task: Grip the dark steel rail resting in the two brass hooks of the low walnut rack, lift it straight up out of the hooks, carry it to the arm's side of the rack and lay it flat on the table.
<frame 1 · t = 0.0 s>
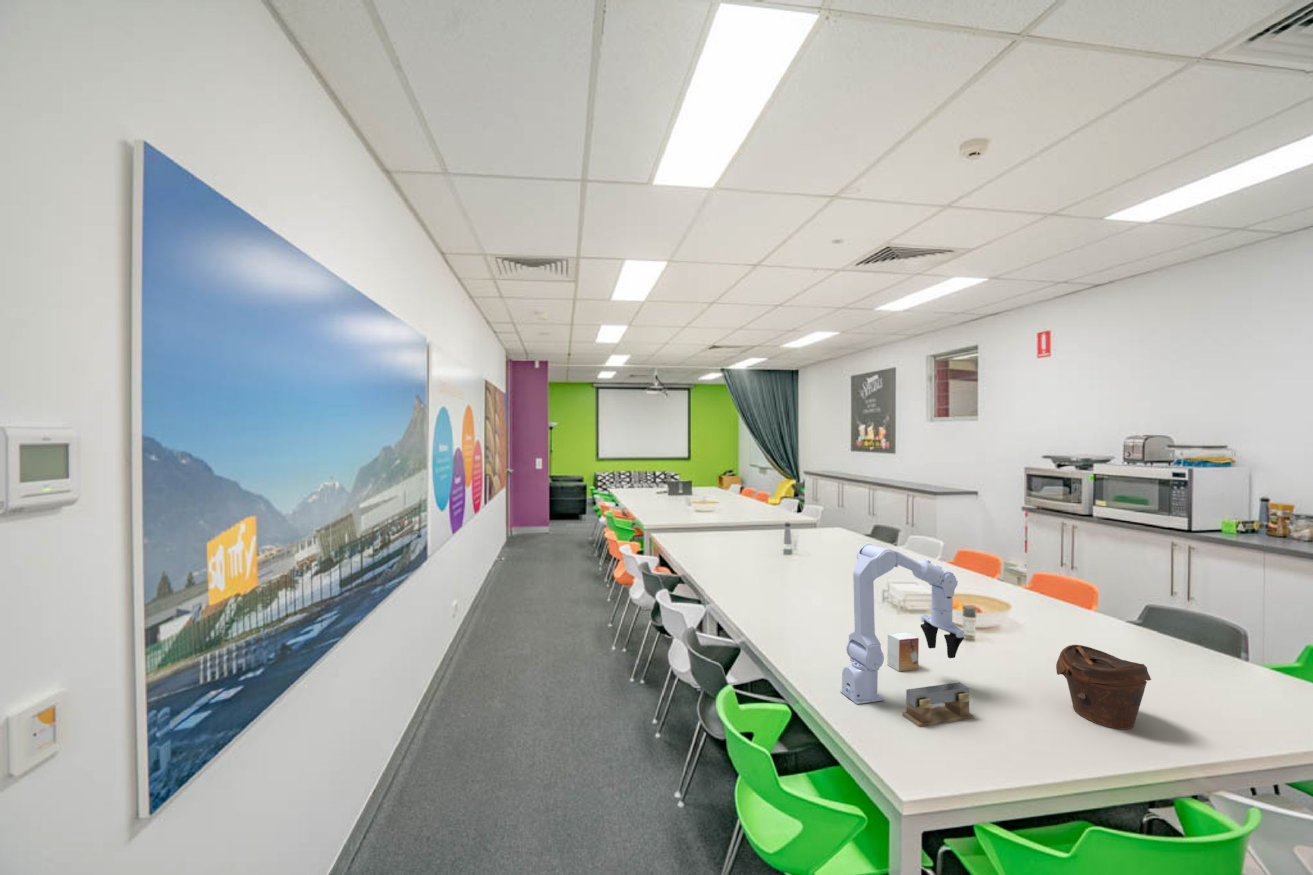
hand: (941, 652, 161), 10 cm above the table, tool pointing down, fingers open, 7 cm apart
rail: (937, 700, 142), point 4 cm above the table, touching rack
small box: (902, 667, 174), on the table
case: (1101, 716, 144), on the table
rack: (937, 716, 142), on the table
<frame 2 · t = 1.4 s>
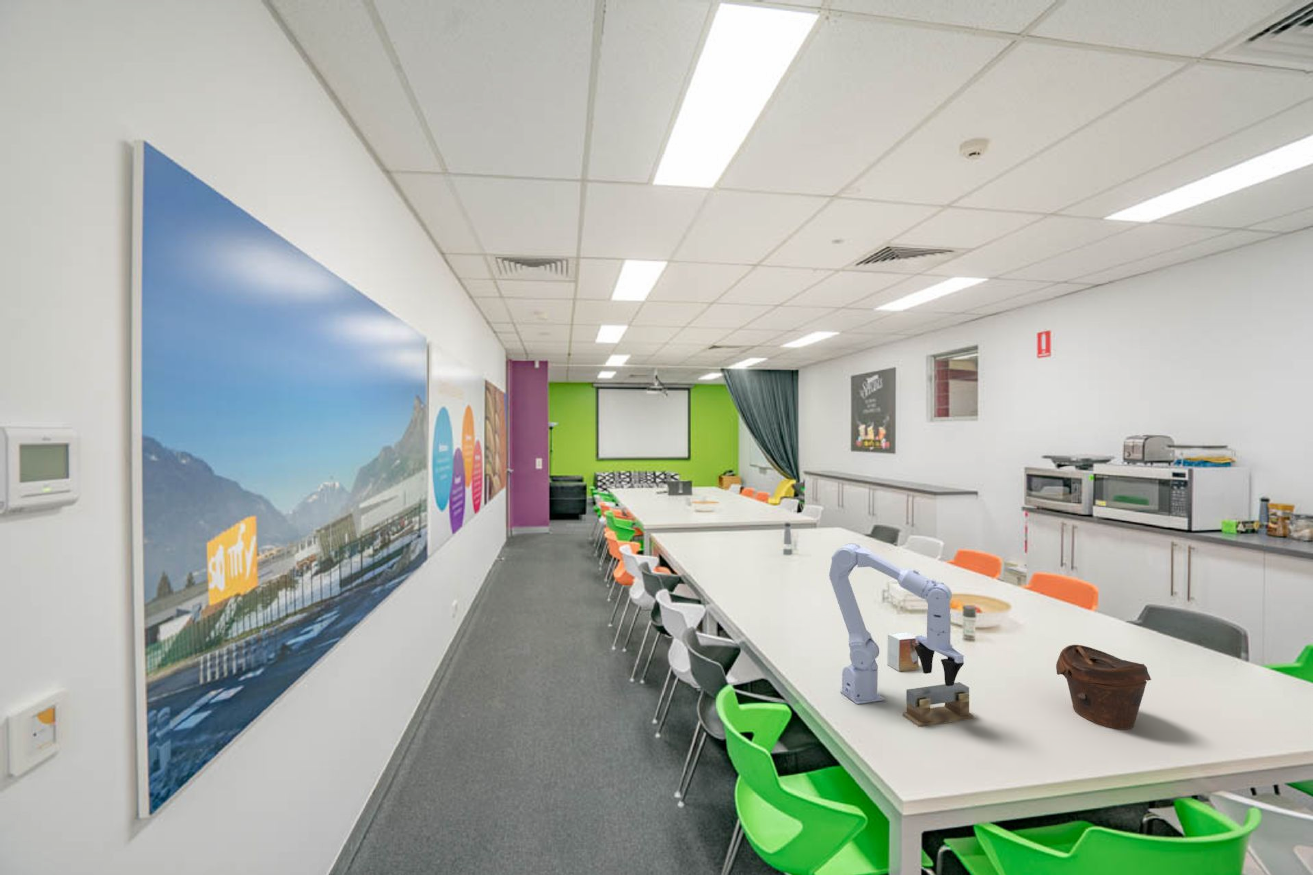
hand: (938, 678, 142), 10 cm above the table, tool pointing down, fingers open, 7 cm apart
nothing on the table moved.
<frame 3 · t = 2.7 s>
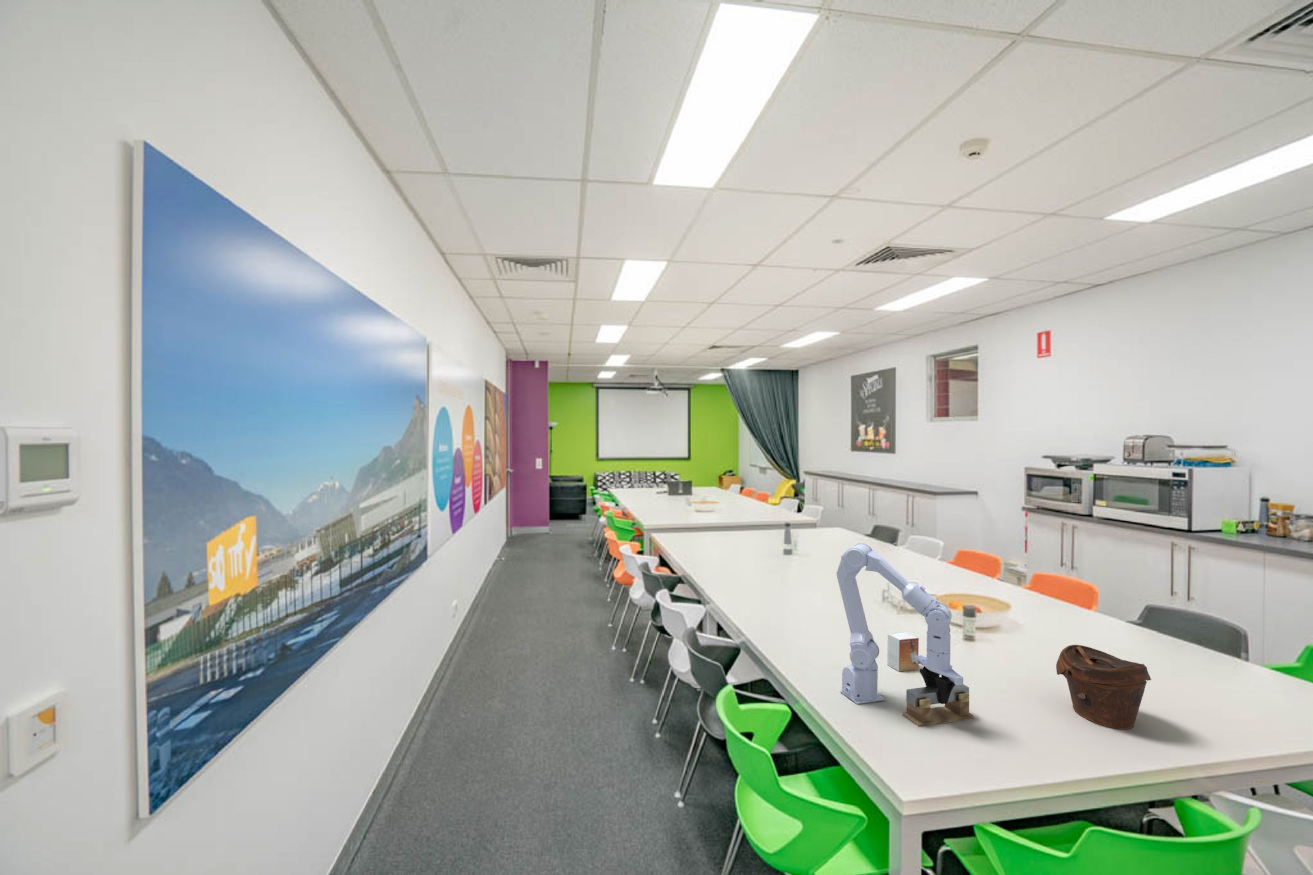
hand: (937, 699, 142), 5 cm above the table, tool pointing down, fingers closed on rail, 3 cm apart
rail: (937, 700, 142), point 4 cm above the table, touching gripper, rack
everything else where it was.
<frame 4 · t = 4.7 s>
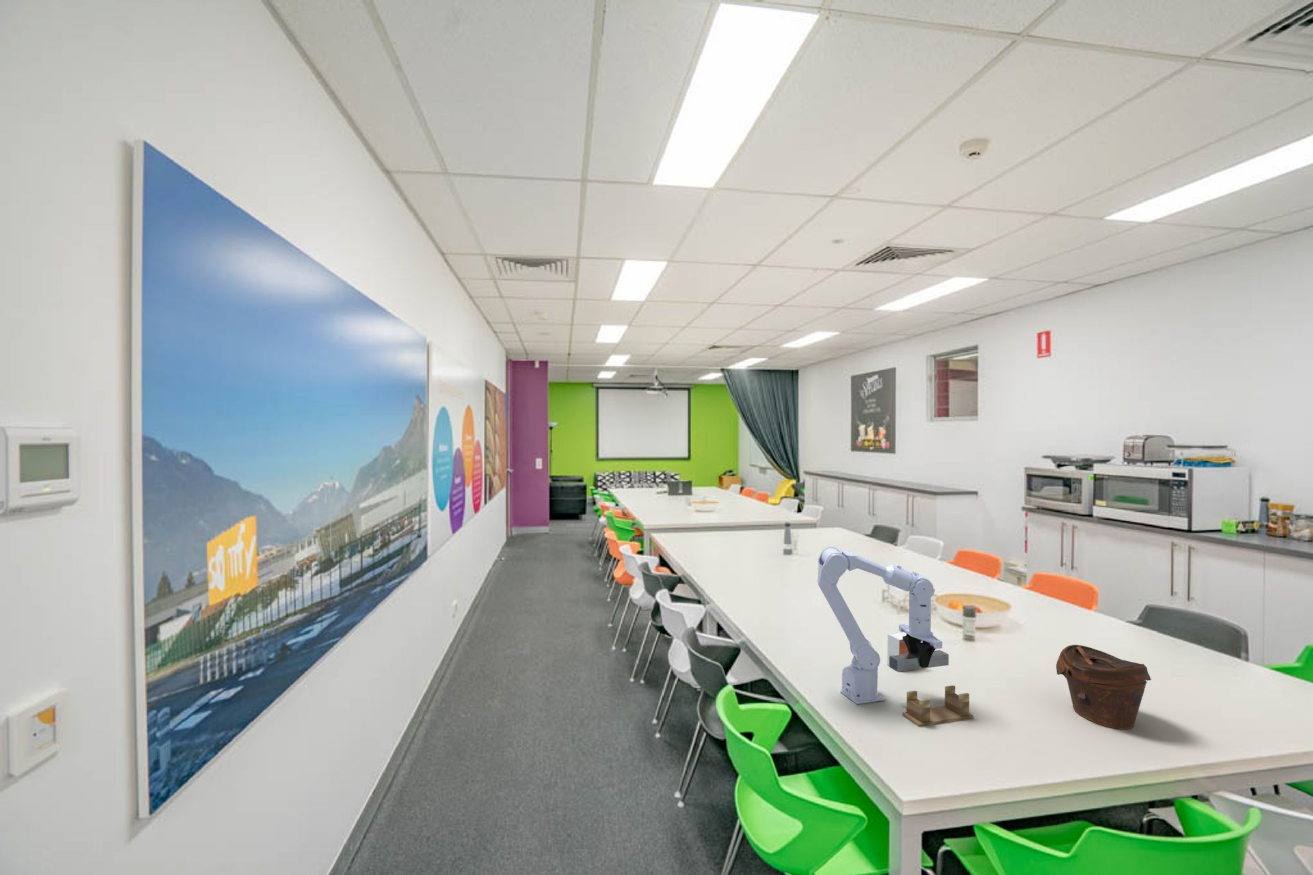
hand: (919, 664, 151), 10 cm above the table, tool pointing down, fingers closed on rail, 3 cm apart
rail: (919, 666, 151), point 10 cm above the table, touching gripper
everything else where it was.
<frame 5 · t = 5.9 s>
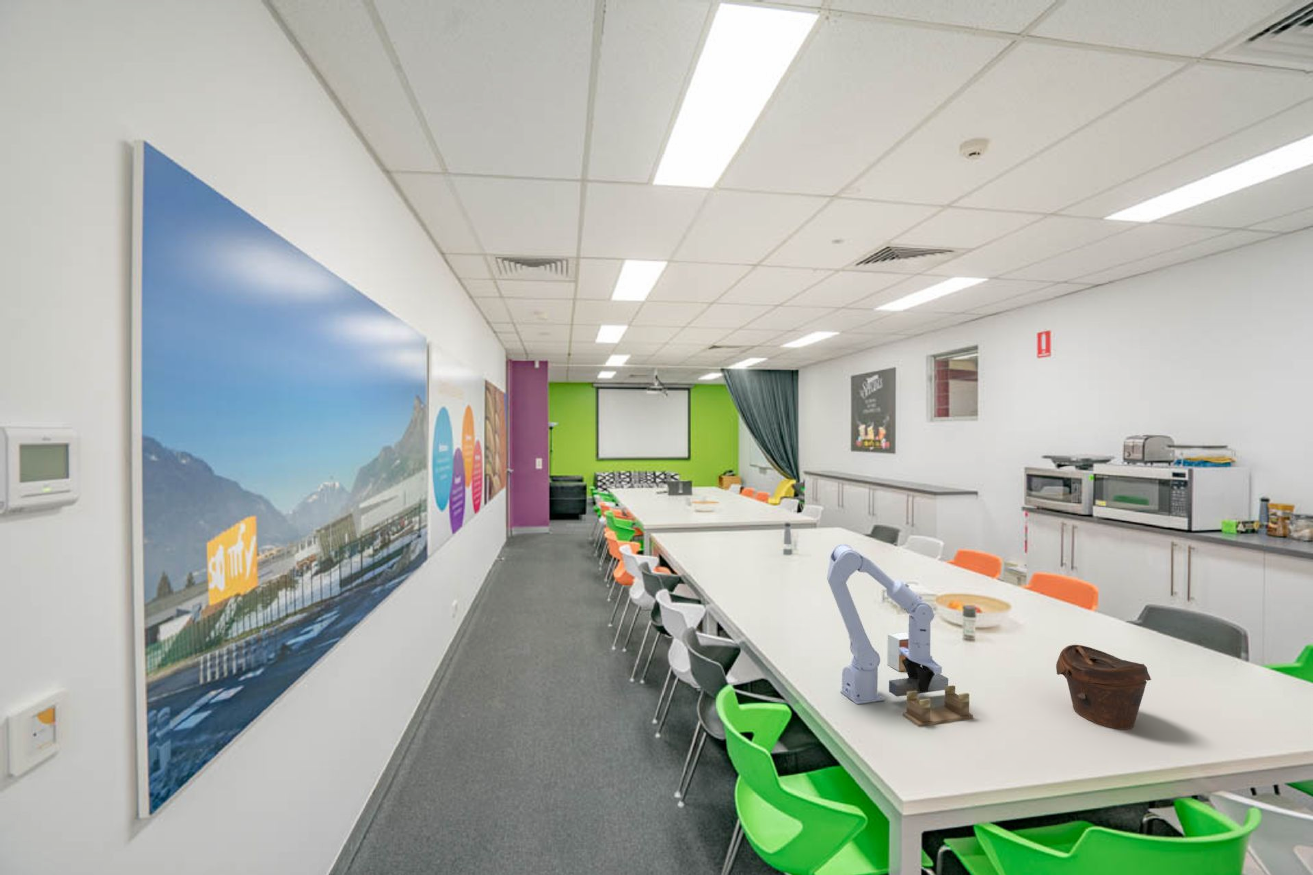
hand: (918, 688, 151), 3 cm above the table, tool pointing down, fingers closed on rail, 3 cm apart
rail: (918, 690, 151), point 3 cm above the table, touching gripper
everything else where it was.
when the fingers open (2 cm above the table, at t = 6.6 s): rail drops 2 cm, on the table.
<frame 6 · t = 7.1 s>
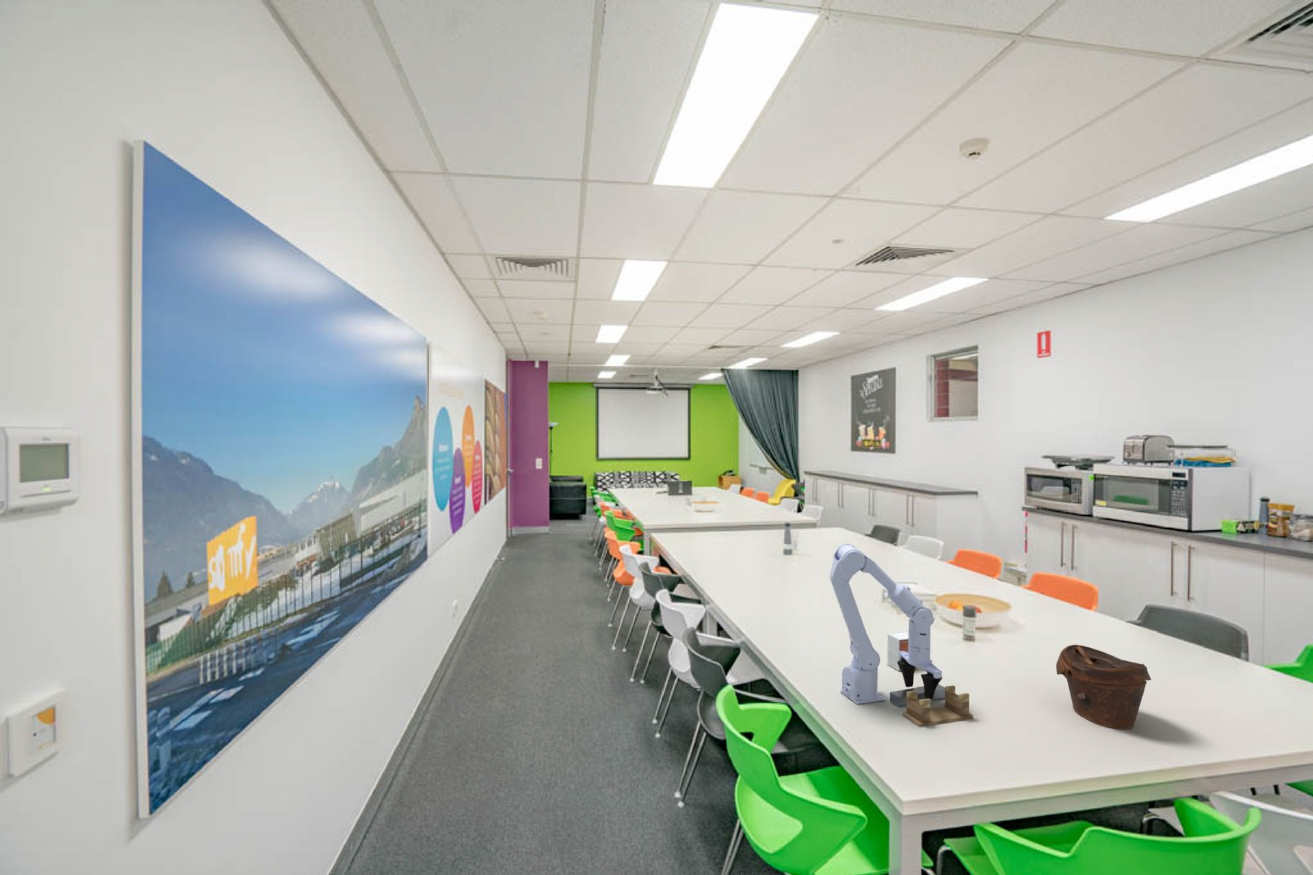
hand: (918, 692, 151), 2 cm above the table, tool pointing down, fingers open, 7 cm apart
rail: (918, 701, 151), on the table
everything else where it was.
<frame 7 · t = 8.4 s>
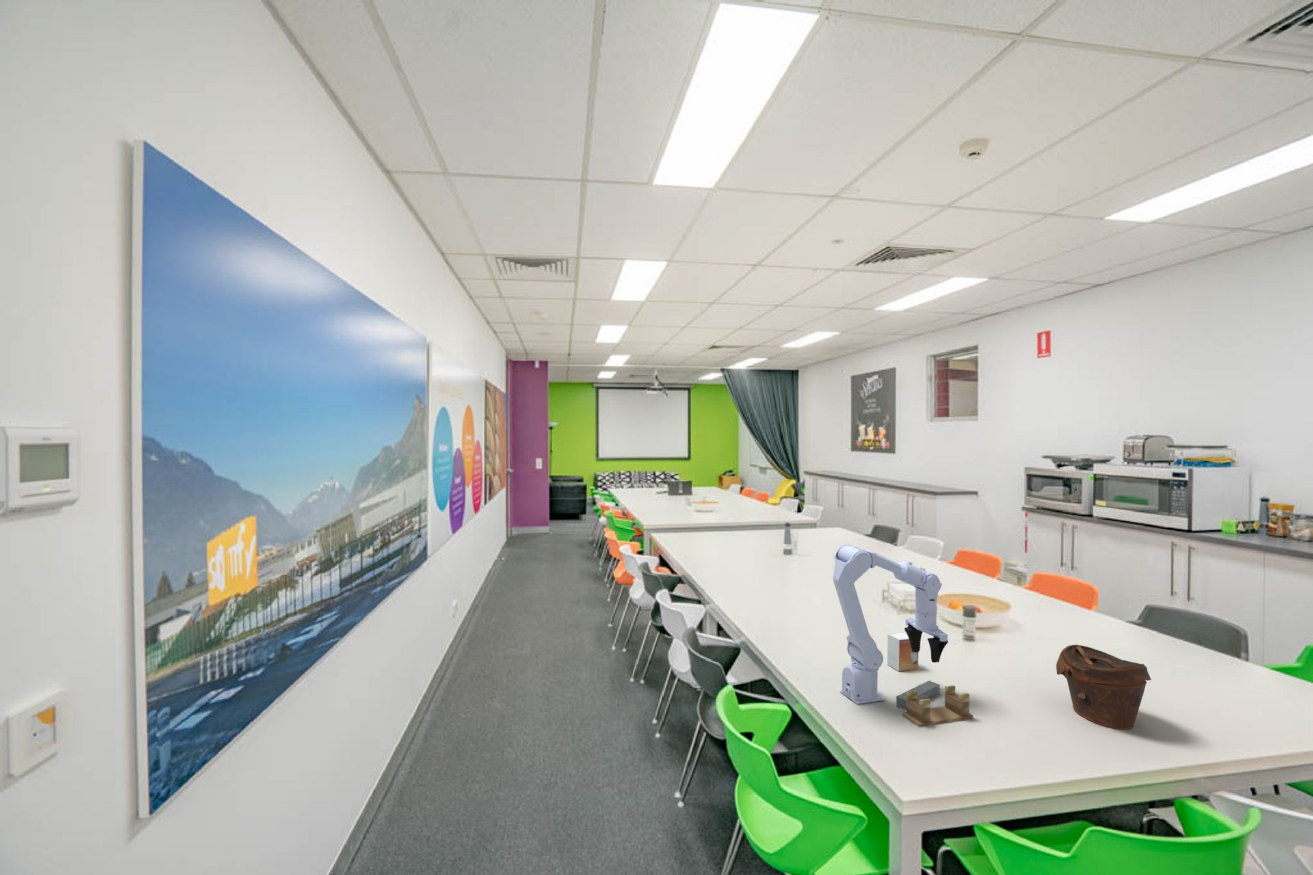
hand: (925, 656, 157), 10 cm above the table, tool pointing down, fingers open, 7 cm apart
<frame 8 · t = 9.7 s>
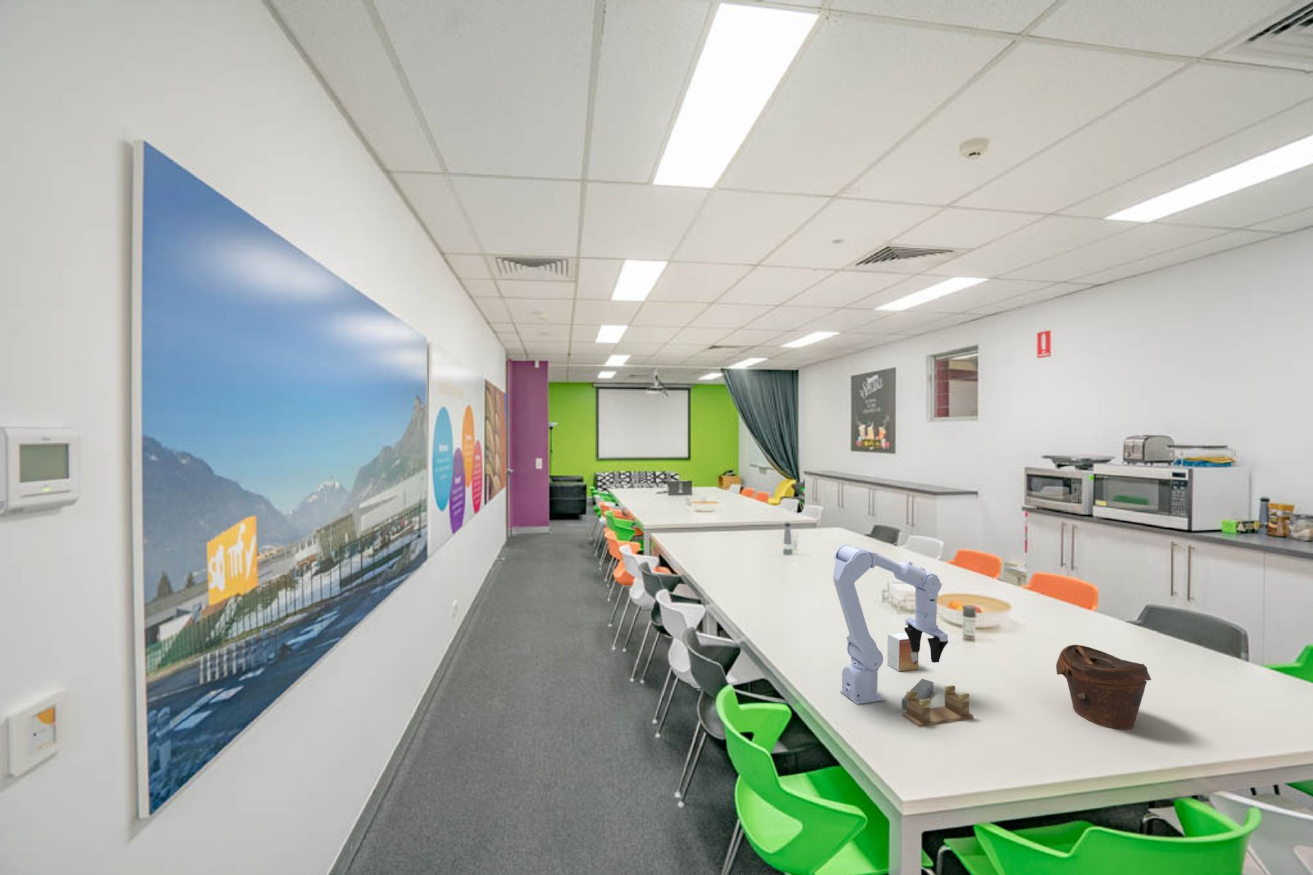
hand: (925, 656, 157), 10 cm above the table, tool pointing down, fingers open, 7 cm apart
at the end: rail inside the target area (0.1 cm from its centre), on the table; rail tilted 0°; the gripper is holding nothing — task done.
